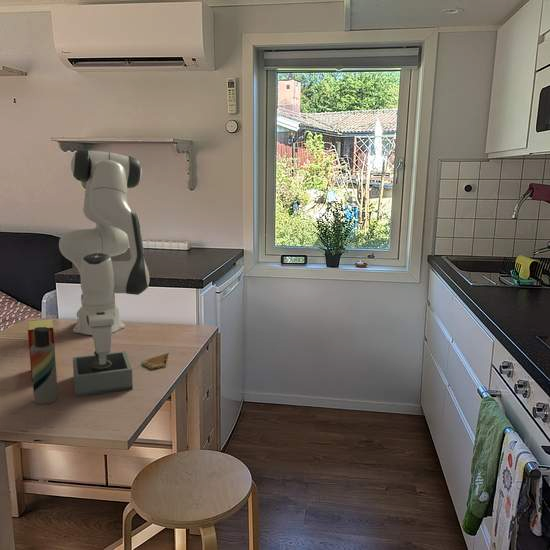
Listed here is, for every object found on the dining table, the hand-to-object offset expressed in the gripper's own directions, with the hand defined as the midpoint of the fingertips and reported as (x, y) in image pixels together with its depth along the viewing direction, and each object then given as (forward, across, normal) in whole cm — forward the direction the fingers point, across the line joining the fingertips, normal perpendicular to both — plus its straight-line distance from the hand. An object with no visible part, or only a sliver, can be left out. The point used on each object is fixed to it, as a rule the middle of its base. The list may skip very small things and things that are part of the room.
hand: (101, 357), depth 140 cm
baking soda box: (+8, -12, -16) cm, 21 cm away
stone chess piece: (+6, -2, 0) cm, 7 cm away
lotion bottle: (+8, +6, -15) cm, 18 cm away
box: (+8, 0, 0) cm, 8 cm away
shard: (+8, -10, +17) cm, 21 cm away
